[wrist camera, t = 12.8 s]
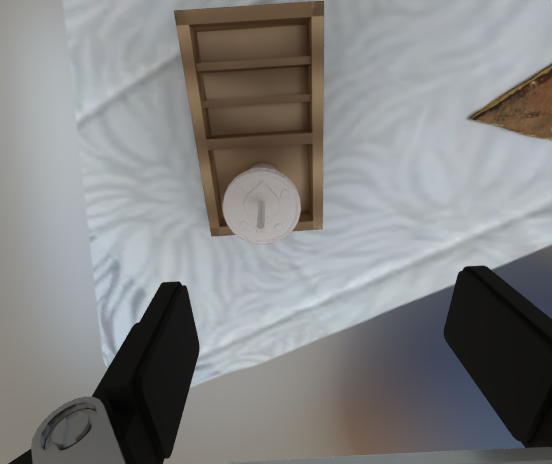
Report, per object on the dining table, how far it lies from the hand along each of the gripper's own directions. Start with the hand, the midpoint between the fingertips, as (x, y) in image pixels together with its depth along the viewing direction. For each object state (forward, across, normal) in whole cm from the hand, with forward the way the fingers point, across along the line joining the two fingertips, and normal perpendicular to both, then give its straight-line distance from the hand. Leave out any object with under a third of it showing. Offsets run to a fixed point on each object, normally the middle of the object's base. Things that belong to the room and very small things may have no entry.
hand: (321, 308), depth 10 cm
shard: (+26, -26, -3) cm, 37 cm away
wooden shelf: (+25, +3, -3) cm, 25 cm away
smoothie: (+24, +3, +2) cm, 24 cm away
